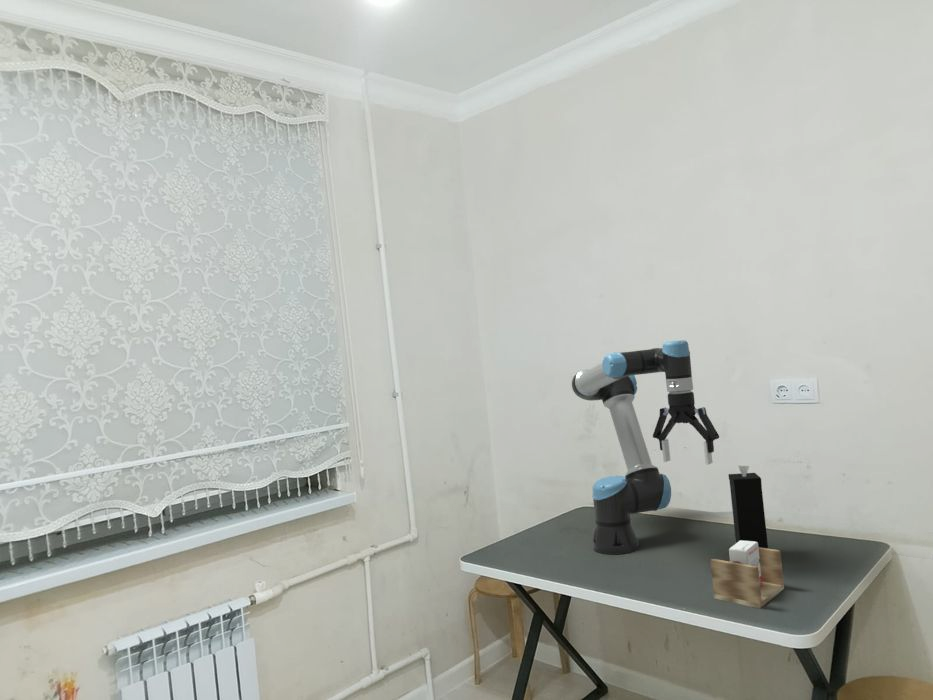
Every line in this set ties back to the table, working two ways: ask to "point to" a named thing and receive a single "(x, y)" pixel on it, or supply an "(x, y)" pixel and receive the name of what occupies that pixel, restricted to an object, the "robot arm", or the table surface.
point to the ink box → (746, 554)
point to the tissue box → (748, 507)
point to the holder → (748, 579)
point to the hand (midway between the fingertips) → (687, 462)
